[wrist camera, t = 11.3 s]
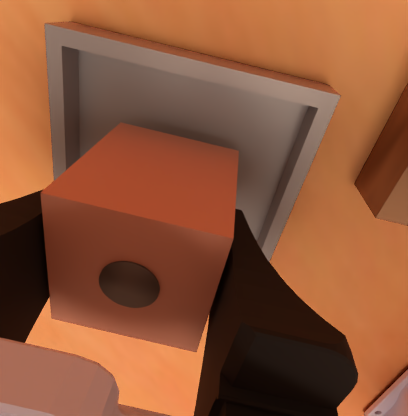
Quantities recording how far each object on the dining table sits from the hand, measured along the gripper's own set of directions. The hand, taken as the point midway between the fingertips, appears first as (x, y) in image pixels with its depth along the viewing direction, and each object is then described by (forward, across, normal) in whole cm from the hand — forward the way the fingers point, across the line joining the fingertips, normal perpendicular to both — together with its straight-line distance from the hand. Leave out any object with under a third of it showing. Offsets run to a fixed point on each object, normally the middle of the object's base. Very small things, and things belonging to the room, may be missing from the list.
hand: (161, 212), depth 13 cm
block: (+2, 0, 0) cm, 2 cm away
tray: (+4, 0, 0) cm, 4 cm away
